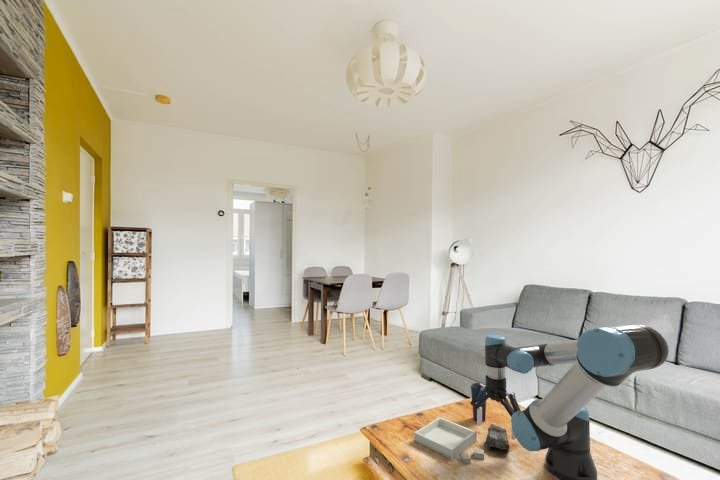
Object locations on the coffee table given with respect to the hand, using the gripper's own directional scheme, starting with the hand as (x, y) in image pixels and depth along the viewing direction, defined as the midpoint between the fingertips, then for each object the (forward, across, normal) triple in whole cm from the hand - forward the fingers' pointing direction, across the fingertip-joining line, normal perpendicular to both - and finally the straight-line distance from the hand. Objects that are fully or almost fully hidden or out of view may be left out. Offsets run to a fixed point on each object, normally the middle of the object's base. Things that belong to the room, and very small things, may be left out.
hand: (496, 431), depth 132 cm
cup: (+6, +14, -15) cm, 22 cm away
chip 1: (+6, +4, +17) cm, 18 cm away
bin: (+6, +16, +11) cm, 20 cm away
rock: (+6, 0, 0) cm, 6 cm away
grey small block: (+6, +2, +11) cm, 13 cm away
